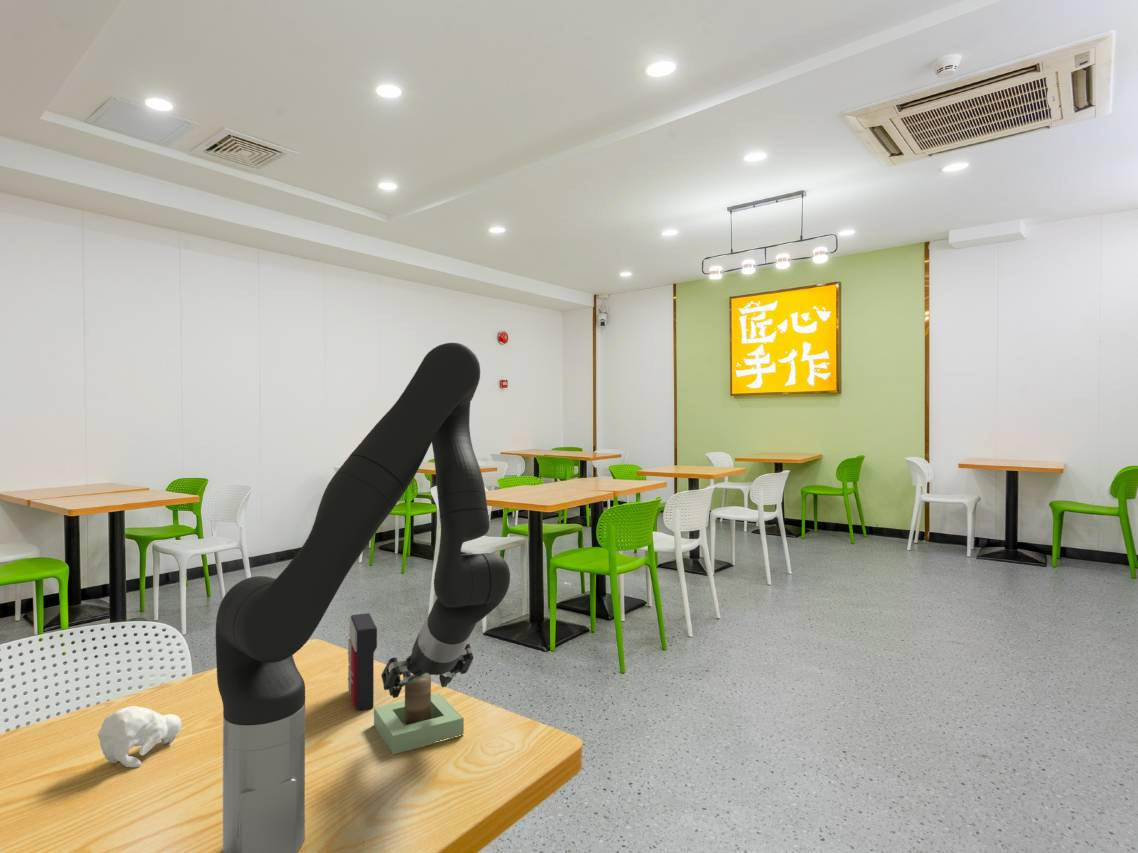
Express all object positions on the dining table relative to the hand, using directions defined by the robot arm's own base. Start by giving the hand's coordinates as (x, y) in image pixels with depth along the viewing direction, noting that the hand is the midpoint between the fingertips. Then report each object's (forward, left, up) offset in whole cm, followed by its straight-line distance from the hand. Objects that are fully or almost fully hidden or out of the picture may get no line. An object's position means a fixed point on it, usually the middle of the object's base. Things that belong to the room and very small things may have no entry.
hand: (418, 687), depth 108 cm
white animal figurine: (+16, +40, -8) cm, 44 cm away
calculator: (+19, +5, -8) cm, 21 cm away
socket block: (+1, 0, -8) cm, 8 cm away
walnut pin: (+1, 0, -8) cm, 8 cm away
